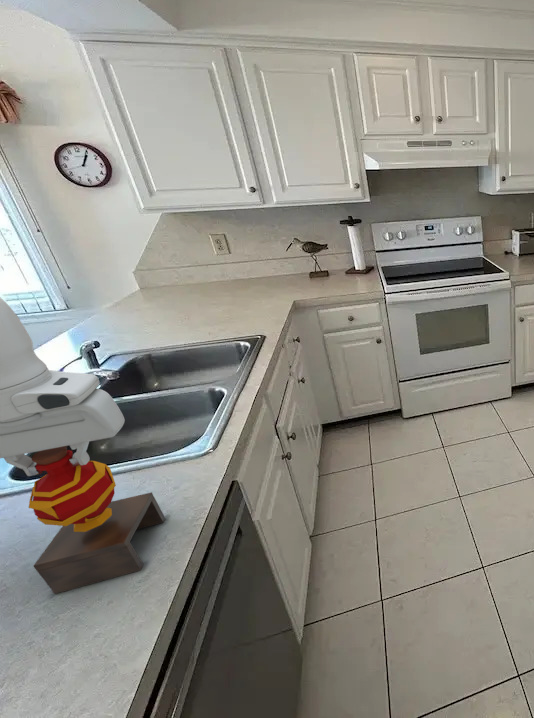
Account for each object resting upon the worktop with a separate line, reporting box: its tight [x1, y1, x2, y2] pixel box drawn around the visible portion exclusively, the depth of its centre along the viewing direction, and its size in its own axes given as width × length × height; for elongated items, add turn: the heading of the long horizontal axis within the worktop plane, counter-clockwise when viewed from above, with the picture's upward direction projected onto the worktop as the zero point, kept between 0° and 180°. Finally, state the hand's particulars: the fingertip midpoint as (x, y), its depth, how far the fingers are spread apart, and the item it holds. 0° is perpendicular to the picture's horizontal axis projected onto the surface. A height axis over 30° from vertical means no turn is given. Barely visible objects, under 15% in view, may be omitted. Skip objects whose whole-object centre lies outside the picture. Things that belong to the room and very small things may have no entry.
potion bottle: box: [28, 446, 117, 532], centre depth 68 cm, size 10×10×15 cm
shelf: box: [33, 492, 166, 595], centre depth 74 cm, size 12×12×7 cm
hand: (60, 467), depth 66 cm, fingers closed on potion bottle, 4 cm apart
